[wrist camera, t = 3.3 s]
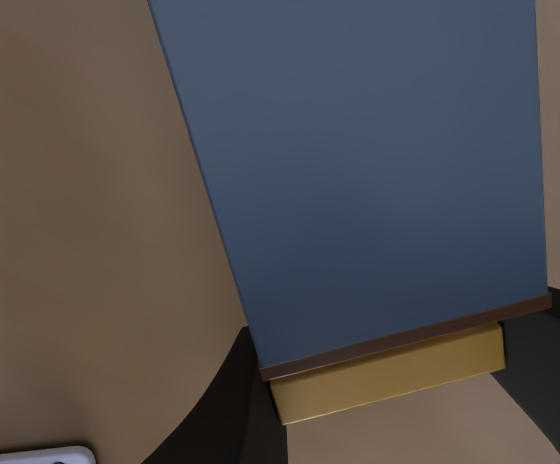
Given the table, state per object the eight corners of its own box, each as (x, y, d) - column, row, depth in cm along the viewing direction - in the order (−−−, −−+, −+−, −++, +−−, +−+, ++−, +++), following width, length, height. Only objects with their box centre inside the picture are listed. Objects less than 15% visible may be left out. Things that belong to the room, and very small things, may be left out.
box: (440, 299, 13) (568, 433, 8) (272, 342, 13) (289, 505, 8) (380, -138, 10) (543, -422, 4) (149, -77, 10) (32, -286, 4)
